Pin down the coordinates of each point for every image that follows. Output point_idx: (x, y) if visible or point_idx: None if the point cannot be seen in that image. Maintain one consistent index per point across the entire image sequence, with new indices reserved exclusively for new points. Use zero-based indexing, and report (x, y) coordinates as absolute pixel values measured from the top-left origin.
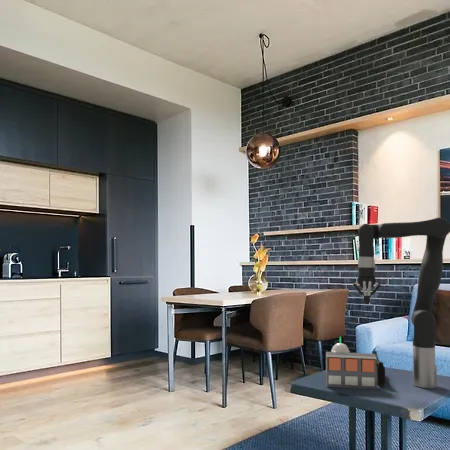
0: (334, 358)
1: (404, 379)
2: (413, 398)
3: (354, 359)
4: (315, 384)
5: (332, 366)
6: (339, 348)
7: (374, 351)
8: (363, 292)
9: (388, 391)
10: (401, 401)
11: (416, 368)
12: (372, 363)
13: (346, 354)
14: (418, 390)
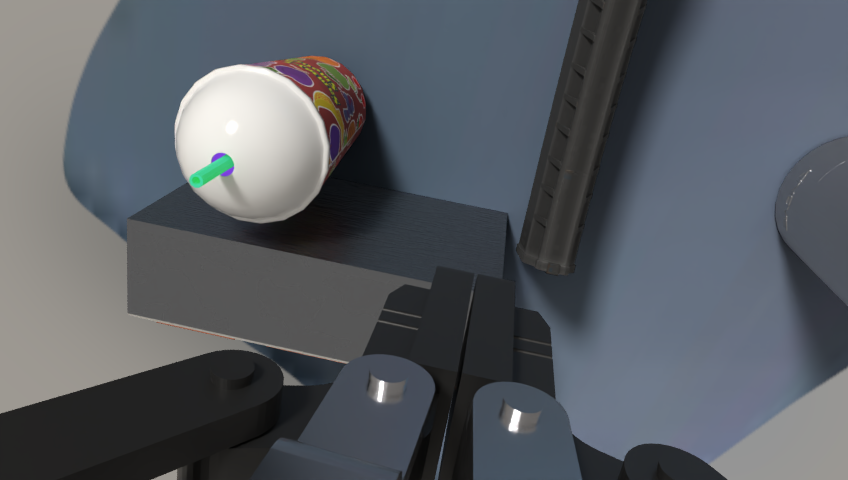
0: (193, 330)
1: (810, 17)
2: (619, 438)
3: (326, 359)
4: (169, 178)
5: None
6: (224, 212)
7: None
8: (324, 441)
9: None
10: None
11: (823, 272)
12: None
13: (270, 325)
14: (737, 303)
